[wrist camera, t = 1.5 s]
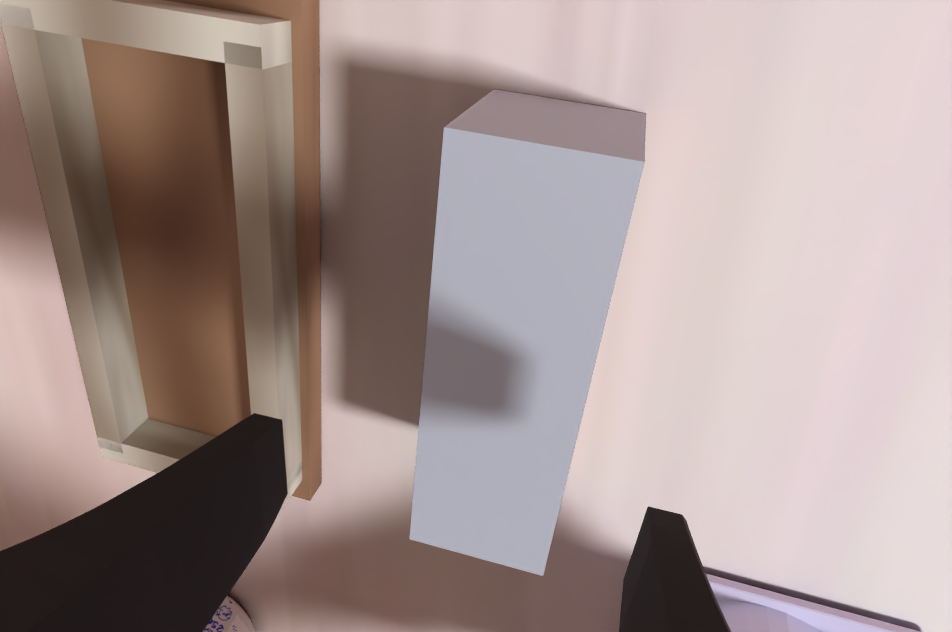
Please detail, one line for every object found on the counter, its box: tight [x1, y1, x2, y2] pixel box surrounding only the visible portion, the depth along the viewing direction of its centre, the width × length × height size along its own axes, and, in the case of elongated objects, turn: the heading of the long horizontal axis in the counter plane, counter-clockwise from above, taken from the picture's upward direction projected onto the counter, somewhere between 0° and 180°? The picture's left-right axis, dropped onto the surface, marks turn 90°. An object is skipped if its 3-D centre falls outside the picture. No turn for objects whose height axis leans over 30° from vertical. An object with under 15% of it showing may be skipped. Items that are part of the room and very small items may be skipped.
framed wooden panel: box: [0, 0, 321, 508], centre depth 21 cm, size 8×18×2 cm, turn 173°
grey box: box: [409, 89, 646, 576], centre depth 18 cm, size 4×12×5 cm, turn 174°
